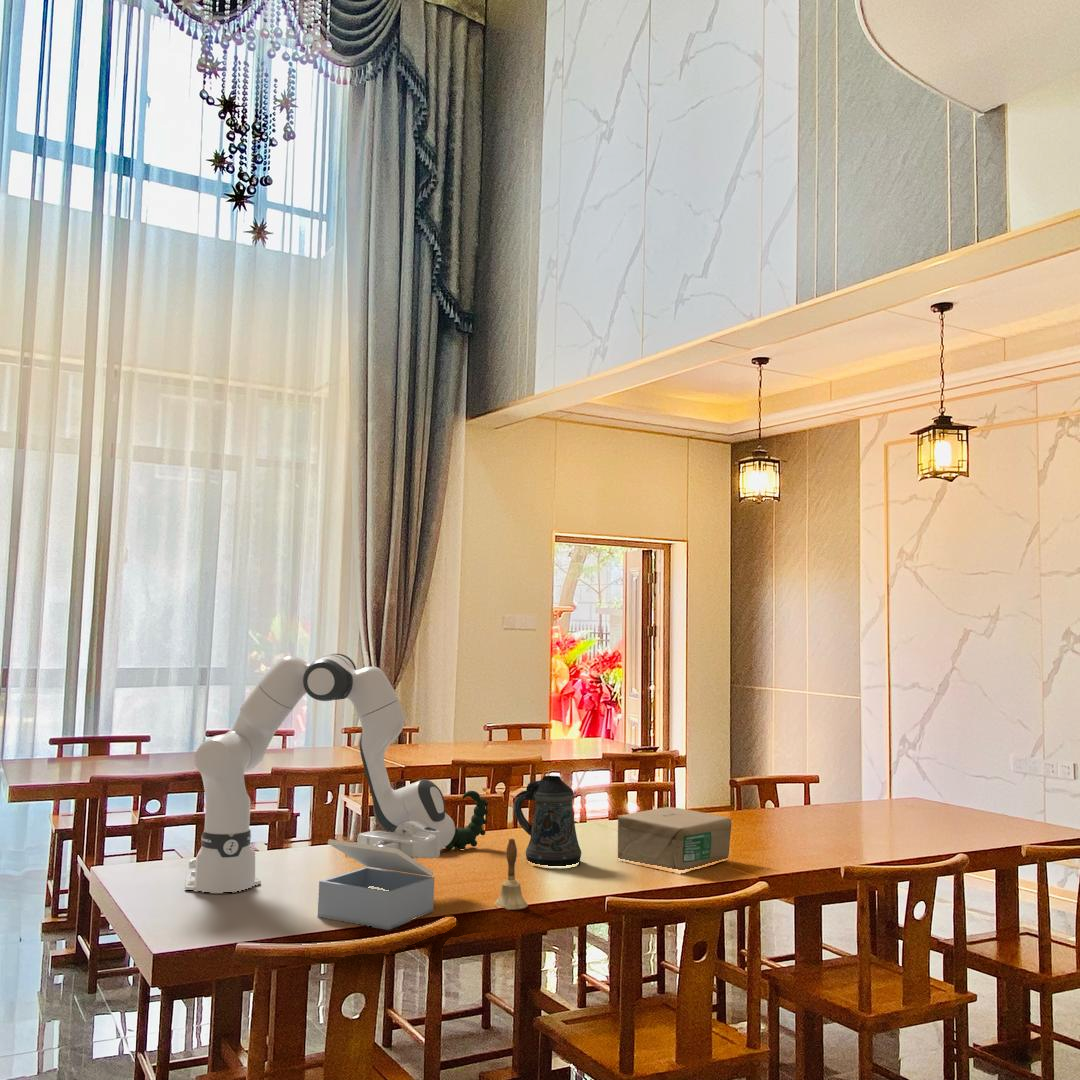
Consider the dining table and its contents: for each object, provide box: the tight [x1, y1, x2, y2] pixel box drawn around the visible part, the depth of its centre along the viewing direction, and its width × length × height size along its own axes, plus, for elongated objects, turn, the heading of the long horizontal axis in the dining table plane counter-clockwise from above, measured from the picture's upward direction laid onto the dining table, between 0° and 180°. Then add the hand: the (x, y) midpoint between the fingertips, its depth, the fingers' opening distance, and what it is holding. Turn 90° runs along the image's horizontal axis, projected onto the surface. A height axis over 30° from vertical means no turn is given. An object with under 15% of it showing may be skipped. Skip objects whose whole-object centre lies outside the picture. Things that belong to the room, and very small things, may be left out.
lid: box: [327, 838, 434, 877], centre depth 238 cm, size 17×20×1 cm
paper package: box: [617, 806, 732, 870], centre depth 304 cm, size 27×26×14 cm
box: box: [317, 866, 435, 931], centre depth 237 cm, size 18×20×8 cm
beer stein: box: [513, 775, 582, 866], centre depth 297 cm, size 16×19×25 cm
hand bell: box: [494, 838, 529, 911], centre depth 248 cm, size 8×8×16 cm
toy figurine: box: [444, 790, 489, 851], centre depth 312 cm, size 9×19×25 cm
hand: (378, 849), depth 237 cm, fingers closed
